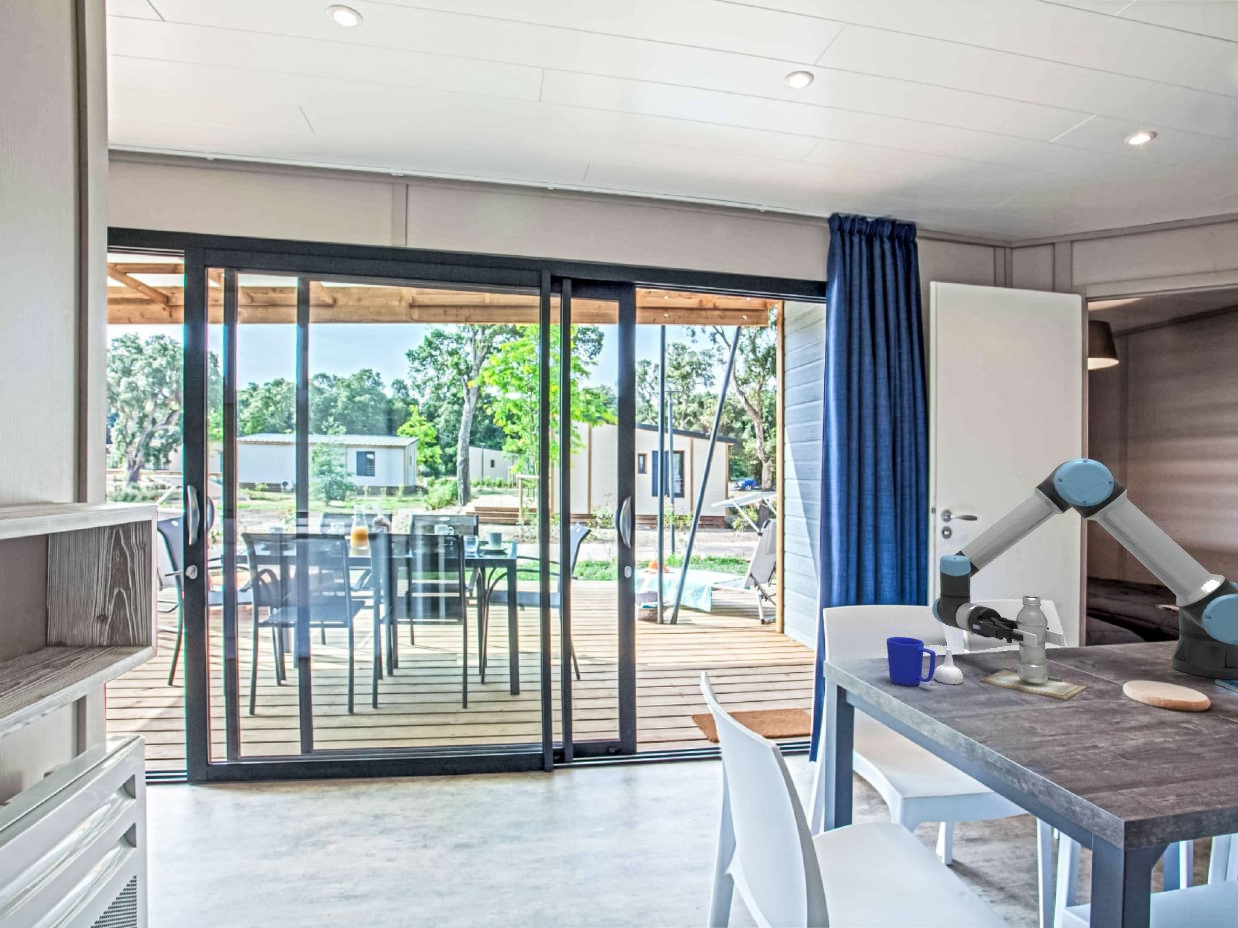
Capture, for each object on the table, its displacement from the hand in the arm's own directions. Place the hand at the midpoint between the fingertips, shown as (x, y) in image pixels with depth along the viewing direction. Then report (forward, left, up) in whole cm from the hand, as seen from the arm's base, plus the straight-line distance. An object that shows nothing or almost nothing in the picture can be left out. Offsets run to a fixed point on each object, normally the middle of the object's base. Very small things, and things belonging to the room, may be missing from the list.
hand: (1049, 640), depth 154 cm
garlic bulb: (+19, +8, -12) cm, 24 cm away
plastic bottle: (+4, -3, -11) cm, 12 cm away
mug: (+23, +18, -12) cm, 32 cm away
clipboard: (+5, -4, -12) cm, 13 cm away
